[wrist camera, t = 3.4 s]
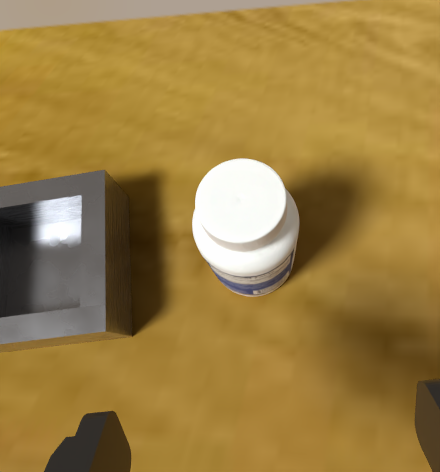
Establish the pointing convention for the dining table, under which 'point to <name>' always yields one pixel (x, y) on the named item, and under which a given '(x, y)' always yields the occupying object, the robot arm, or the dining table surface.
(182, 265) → the dining table surface
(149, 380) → the dining table surface
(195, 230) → the pill bottle
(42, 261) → the socket cup
